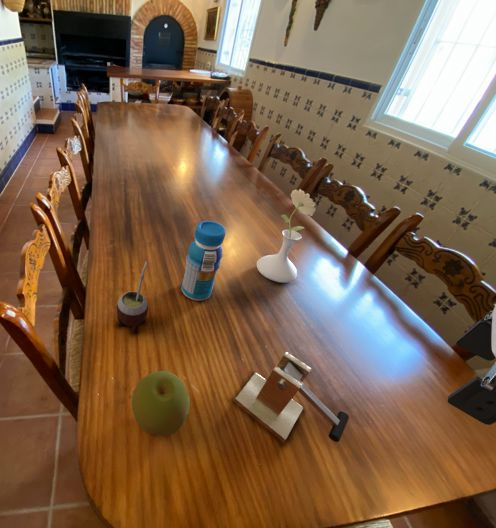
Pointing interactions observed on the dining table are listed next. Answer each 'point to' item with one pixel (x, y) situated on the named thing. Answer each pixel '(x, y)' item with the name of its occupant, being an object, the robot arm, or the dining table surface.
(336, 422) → the lever
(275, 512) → the dining table surface
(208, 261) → the beverage bottle
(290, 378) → the bracket
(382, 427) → the dining table surface
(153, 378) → the apple
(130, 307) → the mate gourd
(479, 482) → the dining table surface
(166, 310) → the dining table surface
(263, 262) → the flower in vase
